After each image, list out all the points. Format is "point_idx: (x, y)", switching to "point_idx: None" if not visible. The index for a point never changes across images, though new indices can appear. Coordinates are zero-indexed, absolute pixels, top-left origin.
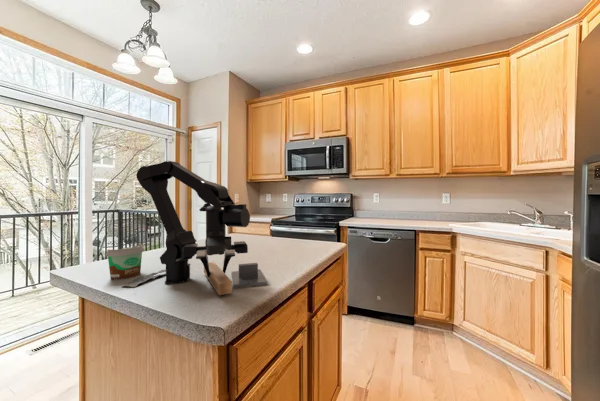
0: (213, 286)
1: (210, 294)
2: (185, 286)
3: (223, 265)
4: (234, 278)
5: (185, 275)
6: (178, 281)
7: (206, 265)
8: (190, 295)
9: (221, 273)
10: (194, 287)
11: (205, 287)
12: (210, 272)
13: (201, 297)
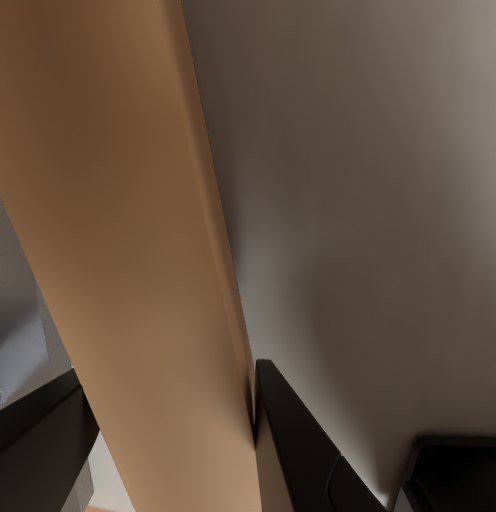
0: (217, 189)
1: (249, 76)
2: (435, 356)
3: (29, 494)
4: (33, 361)
5: (446, 506)
6: (482, 446)
7: (322, 492)
8: (427, 119)
9: (90, 309)
10: (372, 313)
11: (287, 284)
12: (244, 398)
13: (337, 15)
